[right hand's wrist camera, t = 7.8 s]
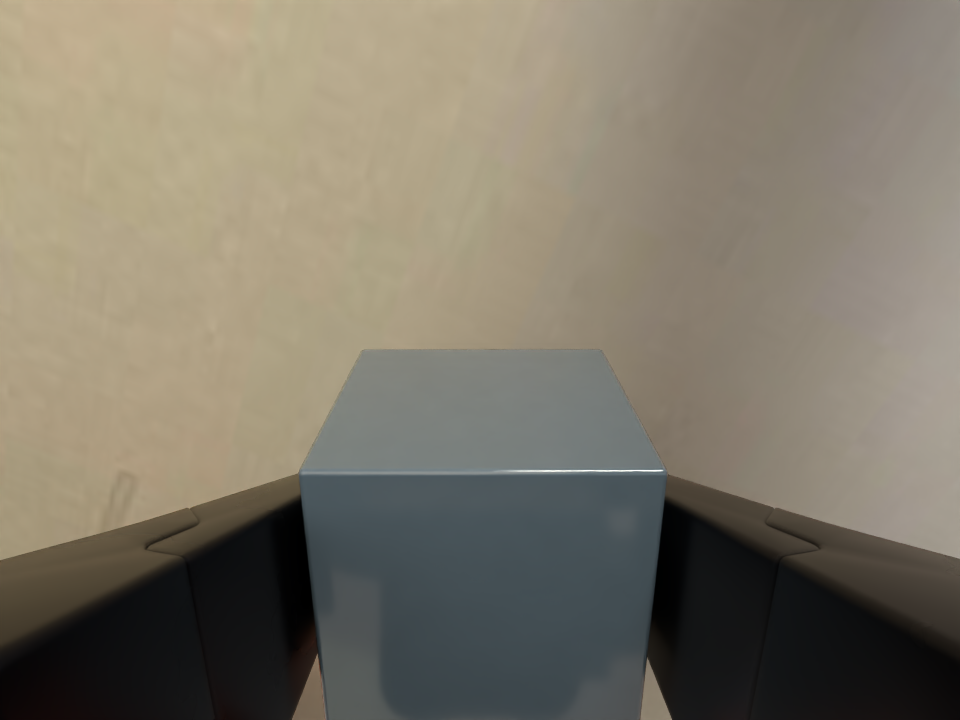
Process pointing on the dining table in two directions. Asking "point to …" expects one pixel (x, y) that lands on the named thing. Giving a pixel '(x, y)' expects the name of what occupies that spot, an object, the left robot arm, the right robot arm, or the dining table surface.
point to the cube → (482, 538)
